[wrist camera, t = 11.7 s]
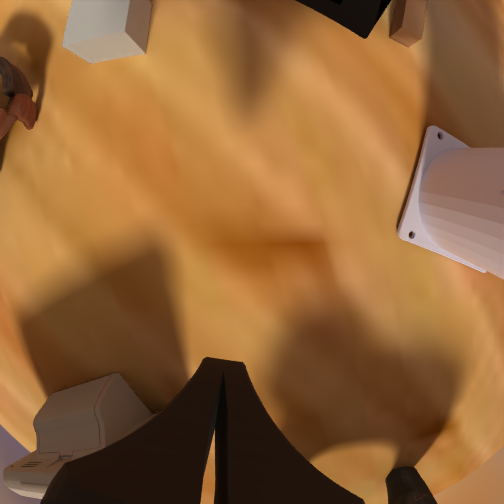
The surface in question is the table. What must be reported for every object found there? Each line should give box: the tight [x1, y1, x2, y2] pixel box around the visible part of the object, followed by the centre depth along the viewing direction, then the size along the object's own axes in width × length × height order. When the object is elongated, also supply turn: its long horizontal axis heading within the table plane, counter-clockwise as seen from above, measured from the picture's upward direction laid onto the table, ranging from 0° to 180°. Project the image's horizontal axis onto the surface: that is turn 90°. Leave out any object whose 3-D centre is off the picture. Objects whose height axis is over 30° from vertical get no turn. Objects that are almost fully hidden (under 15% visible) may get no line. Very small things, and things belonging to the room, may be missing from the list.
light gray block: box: [62, 0, 152, 64], centre depth 14 cm, size 4×4×4 cm
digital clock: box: [3, 372, 158, 499], centre depth 18 cm, size 16×9×11 cm, turn 104°
